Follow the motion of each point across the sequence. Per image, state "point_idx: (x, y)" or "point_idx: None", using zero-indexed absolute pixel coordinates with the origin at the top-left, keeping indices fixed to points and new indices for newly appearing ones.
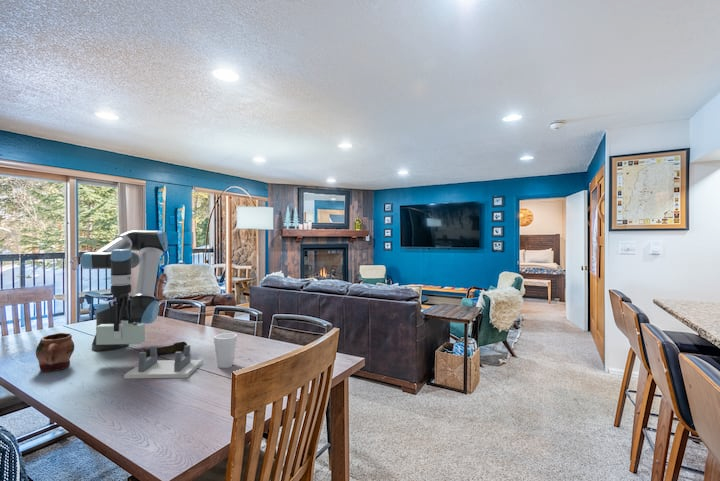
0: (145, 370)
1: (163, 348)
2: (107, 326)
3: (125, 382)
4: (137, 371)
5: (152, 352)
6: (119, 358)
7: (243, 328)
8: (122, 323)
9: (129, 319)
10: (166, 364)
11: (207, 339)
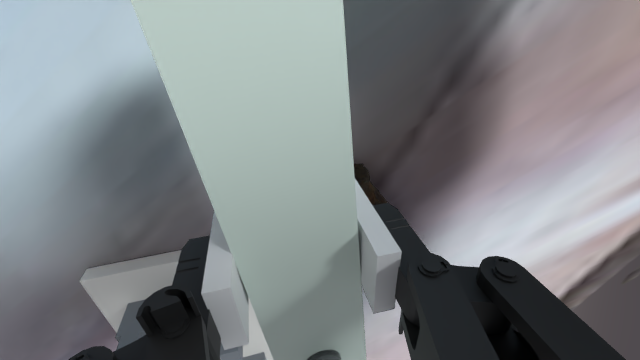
0: None
1: None
2: (199, 164)
3: (56, 297)
4: (132, 297)
5: None
6: None
7: (610, 277)
8: (364, 245)
9: (399, 330)
10: None
11: (526, 250)
